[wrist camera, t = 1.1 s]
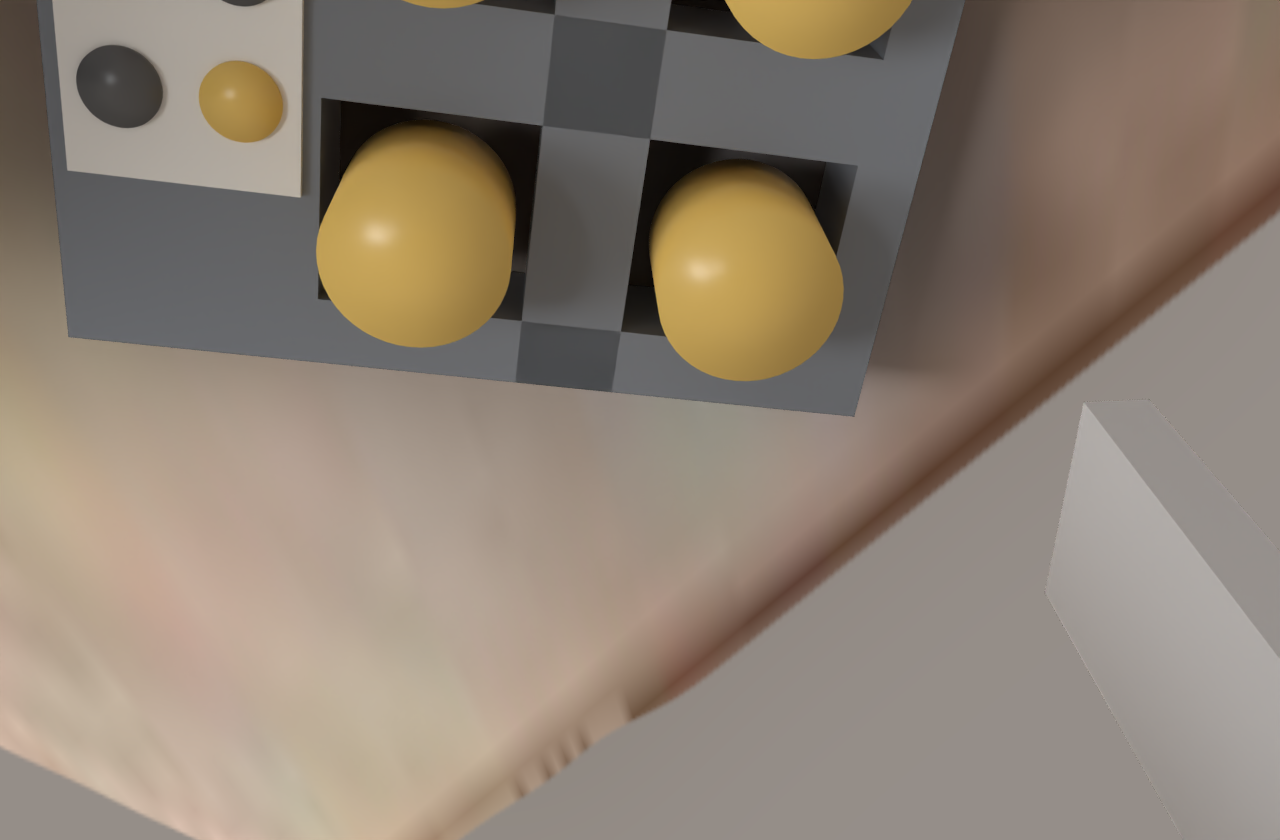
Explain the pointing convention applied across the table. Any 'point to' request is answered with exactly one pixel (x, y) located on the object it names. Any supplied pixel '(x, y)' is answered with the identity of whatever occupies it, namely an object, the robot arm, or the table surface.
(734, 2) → the button near right
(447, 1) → the button near left
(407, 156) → the button far left
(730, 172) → the button far right
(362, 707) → the table surface
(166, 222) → the board
